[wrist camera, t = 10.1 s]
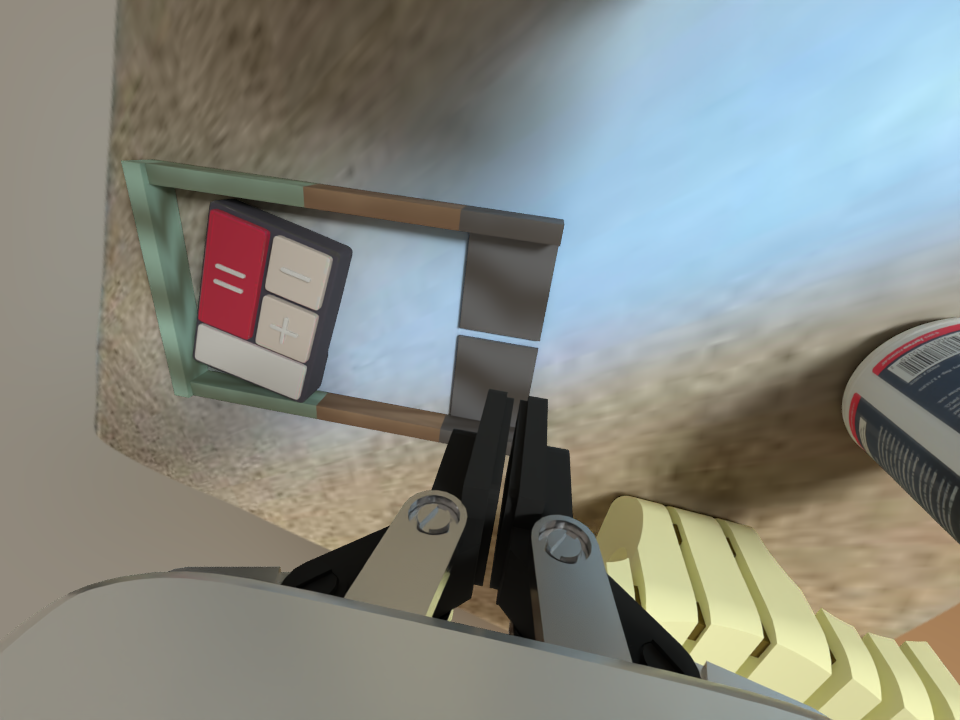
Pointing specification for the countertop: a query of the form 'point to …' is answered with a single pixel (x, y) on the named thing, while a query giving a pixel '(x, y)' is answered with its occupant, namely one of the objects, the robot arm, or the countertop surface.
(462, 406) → the channel
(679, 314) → the countertop surface
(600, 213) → the countertop surface
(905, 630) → the countertop surface
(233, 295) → the calculator
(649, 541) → the slatted curved stool
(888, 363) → the supplement tub
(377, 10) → the countertop surface
